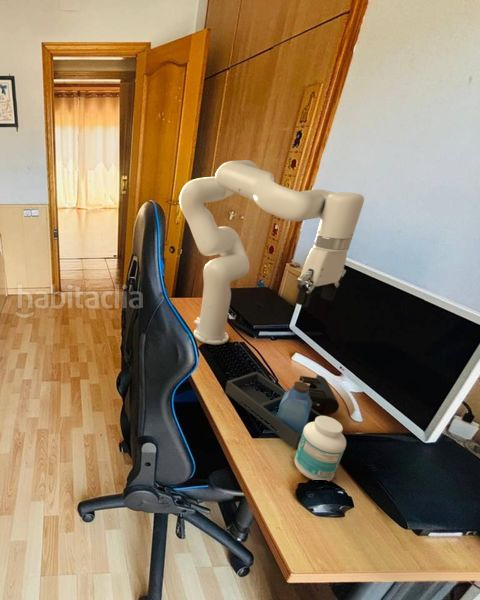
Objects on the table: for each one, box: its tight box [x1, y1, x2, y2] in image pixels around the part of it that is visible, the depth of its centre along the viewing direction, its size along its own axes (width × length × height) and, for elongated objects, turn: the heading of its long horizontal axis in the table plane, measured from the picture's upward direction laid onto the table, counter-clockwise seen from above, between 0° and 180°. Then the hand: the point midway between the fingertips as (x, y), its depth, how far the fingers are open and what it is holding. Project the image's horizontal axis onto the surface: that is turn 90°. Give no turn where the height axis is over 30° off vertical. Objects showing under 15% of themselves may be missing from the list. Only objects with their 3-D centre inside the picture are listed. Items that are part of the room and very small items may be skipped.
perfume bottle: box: [276, 380, 312, 433], centre depth 82 cm, size 6×6×12 cm
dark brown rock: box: [299, 374, 340, 416], centre depth 90 cm, size 10×7×7 cm
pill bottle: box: [293, 415, 347, 482], centre depth 71 cm, size 8×7×14 cm
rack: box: [224, 371, 322, 450], centre depth 89 cm, size 22×12×4 cm, turn 21°
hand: (314, 302), depth 92 cm, fingers open, 9 cm apart
